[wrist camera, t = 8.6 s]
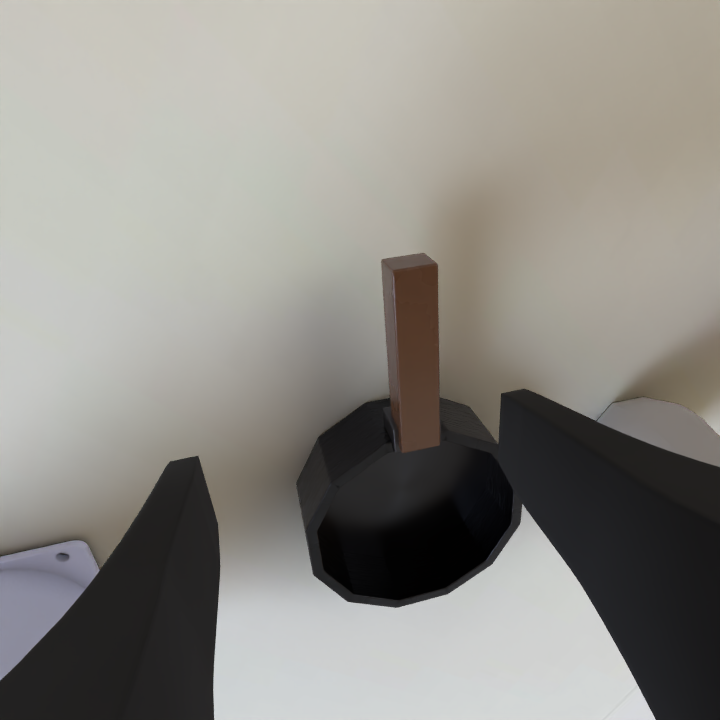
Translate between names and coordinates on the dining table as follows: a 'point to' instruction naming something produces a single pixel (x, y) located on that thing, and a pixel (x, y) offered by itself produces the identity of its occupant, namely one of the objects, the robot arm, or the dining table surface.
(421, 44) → the dining table surface
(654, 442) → the salt shaker
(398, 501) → the pan
